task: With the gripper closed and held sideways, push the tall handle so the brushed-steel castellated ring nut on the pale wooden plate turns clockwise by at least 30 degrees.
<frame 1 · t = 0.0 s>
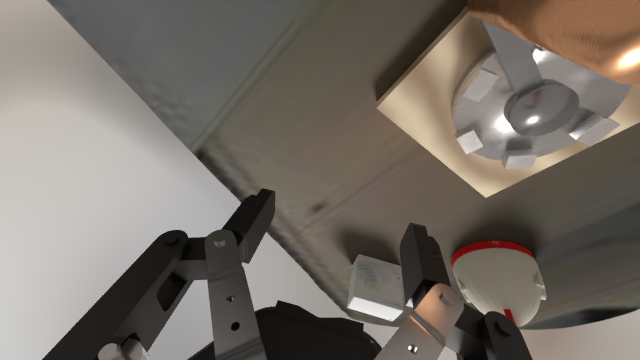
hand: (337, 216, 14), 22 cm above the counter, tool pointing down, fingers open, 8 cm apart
nut base plate: (515, 88, 27), on the counter
kitchen timer: (489, 260, 47), on the counter
skincare box: (375, 264, 57), on the counter
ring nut: (566, 112, 17), point 12 cm above the counter, hinge at 0.0°
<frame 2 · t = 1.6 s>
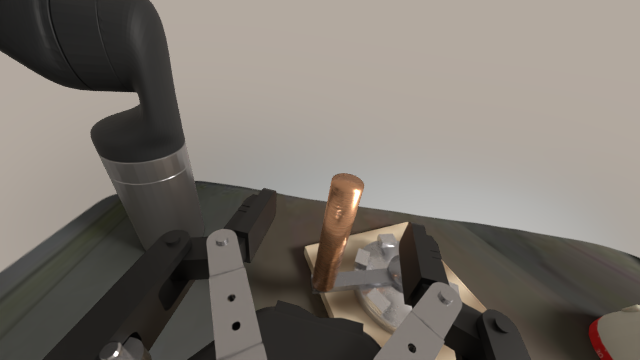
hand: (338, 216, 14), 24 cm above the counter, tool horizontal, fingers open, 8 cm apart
nut base plate: (393, 294, 36), on the counter
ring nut: (399, 246, 29), point 12 cm above the counter, hinge at 0.0°
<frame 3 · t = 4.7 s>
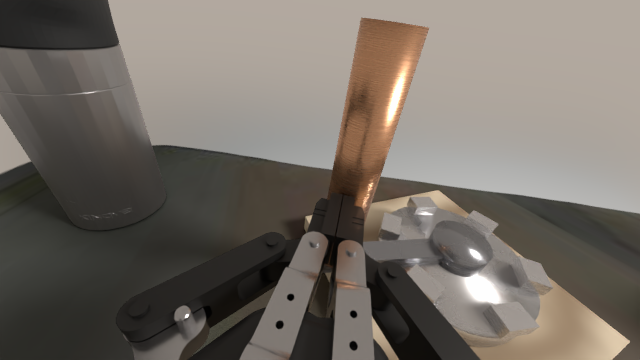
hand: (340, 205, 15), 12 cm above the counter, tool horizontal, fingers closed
nut base plate: (434, 280, 25), on the counter
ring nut: (460, 193, 18), point 12 cm above the counter, hinge at -1.4°, touching gripper
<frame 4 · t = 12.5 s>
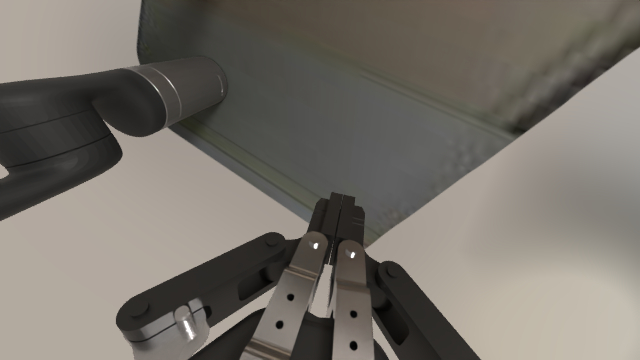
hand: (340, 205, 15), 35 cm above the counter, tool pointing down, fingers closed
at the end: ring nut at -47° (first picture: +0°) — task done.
